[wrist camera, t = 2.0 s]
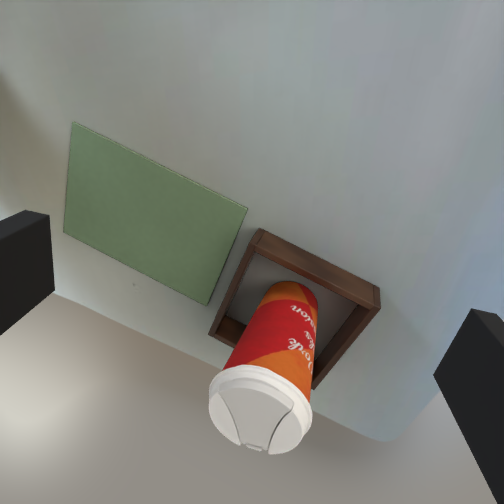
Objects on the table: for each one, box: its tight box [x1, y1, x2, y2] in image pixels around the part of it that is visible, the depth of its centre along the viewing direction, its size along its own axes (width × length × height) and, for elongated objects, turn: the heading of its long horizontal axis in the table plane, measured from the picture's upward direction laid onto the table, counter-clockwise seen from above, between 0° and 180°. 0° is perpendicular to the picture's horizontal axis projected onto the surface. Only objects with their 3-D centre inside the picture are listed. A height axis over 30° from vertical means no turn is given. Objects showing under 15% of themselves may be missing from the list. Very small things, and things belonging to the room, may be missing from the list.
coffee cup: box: [209, 281, 318, 454], centre depth 31 cm, size 8×8×15 cm
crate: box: [208, 228, 381, 390], centre depth 36 cm, size 13×13×4 cm
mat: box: [63, 122, 248, 306], centre depth 38 cm, size 20×14×1 cm
